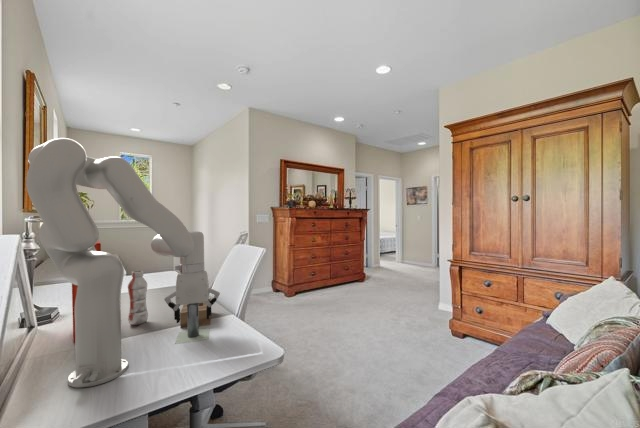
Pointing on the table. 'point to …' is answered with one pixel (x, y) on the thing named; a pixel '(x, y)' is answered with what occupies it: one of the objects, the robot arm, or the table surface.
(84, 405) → the table surface
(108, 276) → the robot arm
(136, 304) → the plastic bottle
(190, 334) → the peg
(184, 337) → the mat
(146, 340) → the table surface
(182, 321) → the hole block
